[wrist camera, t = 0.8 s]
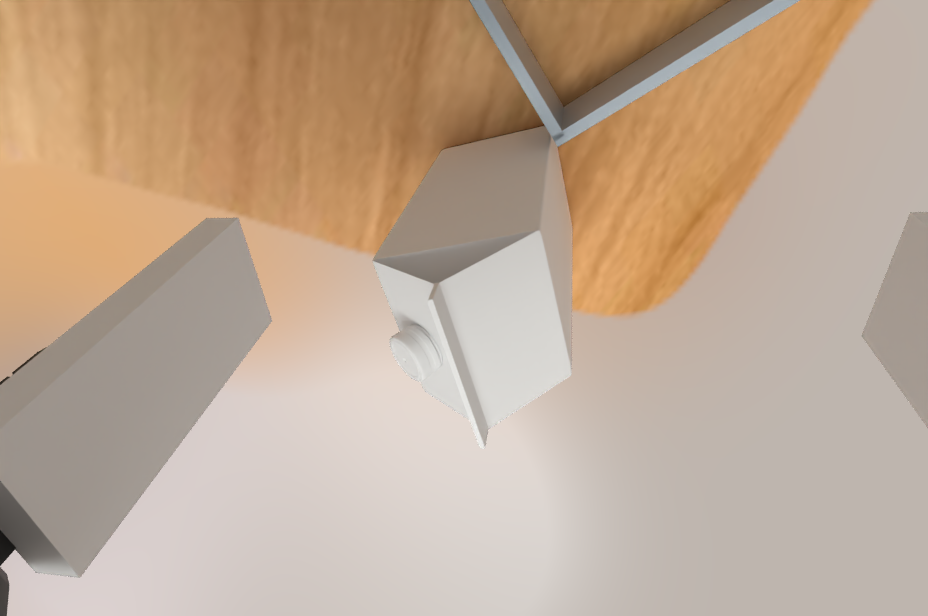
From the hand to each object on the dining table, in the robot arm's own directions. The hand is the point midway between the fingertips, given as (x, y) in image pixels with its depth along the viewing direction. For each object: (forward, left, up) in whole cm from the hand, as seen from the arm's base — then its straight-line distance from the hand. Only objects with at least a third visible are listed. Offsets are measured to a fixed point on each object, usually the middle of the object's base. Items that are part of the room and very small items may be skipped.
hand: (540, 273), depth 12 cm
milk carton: (+5, -7, -24) cm, 26 cm away
